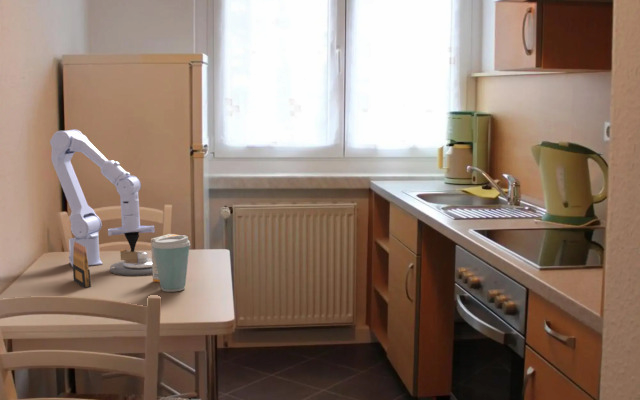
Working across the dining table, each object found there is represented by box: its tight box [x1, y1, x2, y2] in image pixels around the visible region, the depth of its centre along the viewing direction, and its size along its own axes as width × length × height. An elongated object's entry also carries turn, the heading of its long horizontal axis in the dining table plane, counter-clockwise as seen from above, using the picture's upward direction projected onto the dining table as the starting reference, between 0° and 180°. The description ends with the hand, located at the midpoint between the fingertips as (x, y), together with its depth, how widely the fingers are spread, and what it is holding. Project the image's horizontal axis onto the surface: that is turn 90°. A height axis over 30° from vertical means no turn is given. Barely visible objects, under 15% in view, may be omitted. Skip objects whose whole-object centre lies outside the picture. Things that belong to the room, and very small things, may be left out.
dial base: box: [109, 260, 153, 277], centre depth 245 cm, size 20×20×1 cm
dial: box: [119, 249, 152, 269], centre depth 245 cm, size 14×12×4 cm
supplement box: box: [150, 233, 179, 283], centre depth 229 cm, size 8×5×13 cm, turn 149°
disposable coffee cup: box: [152, 234, 191, 293], centre depth 217 cm, size 11×11×15 cm
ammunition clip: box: [72, 242, 92, 289], centre depth 225 cm, size 11×2×12 cm, turn 34°
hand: (132, 255), depth 249 cm, fingers closed, pressing on dial
